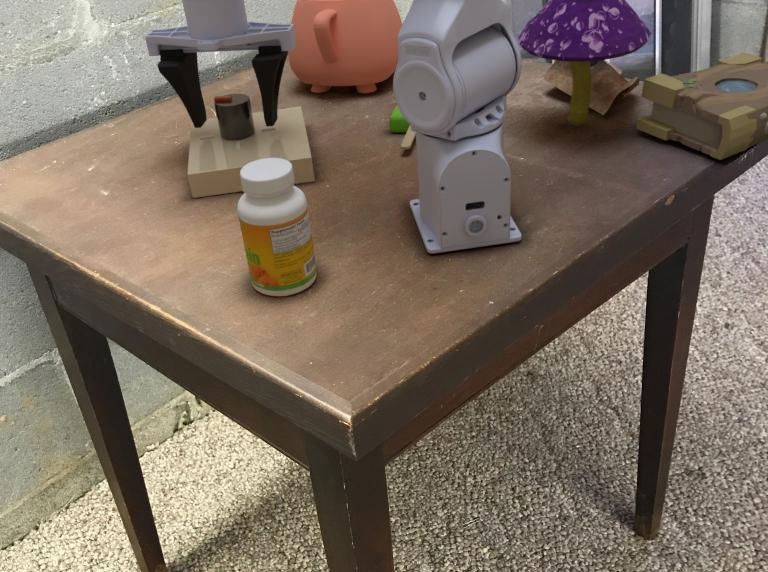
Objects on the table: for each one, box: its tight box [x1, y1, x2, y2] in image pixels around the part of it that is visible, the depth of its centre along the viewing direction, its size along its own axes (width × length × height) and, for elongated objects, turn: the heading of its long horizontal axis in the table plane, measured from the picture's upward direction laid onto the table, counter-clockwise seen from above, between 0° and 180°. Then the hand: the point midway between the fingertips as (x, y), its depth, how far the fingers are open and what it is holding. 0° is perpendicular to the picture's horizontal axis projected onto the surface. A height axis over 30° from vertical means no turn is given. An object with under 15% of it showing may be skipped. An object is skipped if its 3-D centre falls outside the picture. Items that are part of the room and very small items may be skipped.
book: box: [636, 52, 768, 161], centre depth 85 cm, size 15×11×5 cm
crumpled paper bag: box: [542, 60, 641, 116], centre depth 96 cm, size 6×12×8 cm
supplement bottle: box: [236, 158, 318, 297], centre depth 68 cm, size 5×5×10 cm
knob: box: [213, 93, 255, 140], centre depth 89 cm, size 4×4×4 cm
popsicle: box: [389, 104, 416, 150], centre depth 93 cm, size 6×15×2 cm, turn 168°
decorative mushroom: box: [517, 0, 652, 127], centre depth 85 cm, size 12×12×15 cm
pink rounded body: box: [288, 0, 403, 94], centre depth 104 cm, size 13×20×12 cm, turn 164°
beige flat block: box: [186, 105, 316, 199], centre depth 90 cm, size 14×12×3 cm
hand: (236, 123), depth 90 cm, fingers open, 7 cm apart
